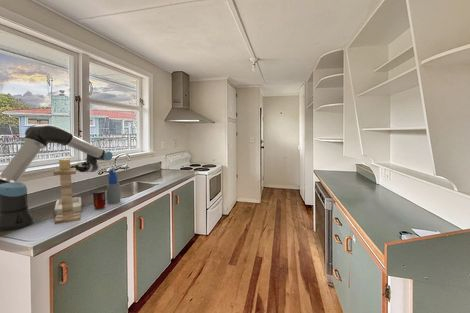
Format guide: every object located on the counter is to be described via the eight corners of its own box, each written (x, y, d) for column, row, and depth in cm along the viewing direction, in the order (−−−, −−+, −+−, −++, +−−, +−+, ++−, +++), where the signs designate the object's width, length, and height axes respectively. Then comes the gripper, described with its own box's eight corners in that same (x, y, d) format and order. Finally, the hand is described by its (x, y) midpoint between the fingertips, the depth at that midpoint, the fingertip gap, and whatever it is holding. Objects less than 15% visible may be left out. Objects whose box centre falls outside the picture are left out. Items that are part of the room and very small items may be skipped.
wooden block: (61, 166, 145) (60, 157, 144) (70, 166, 148) (70, 157, 147) (59, 170, 130) (59, 160, 130) (70, 169, 133) (69, 159, 133)
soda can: (107, 205, 161) (106, 189, 160) (103, 209, 154) (102, 191, 153) (96, 206, 159) (95, 189, 158) (92, 209, 152) (91, 192, 151)
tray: (57, 205, 161) (57, 199, 161) (81, 202, 169) (80, 196, 169) (54, 216, 140) (54, 209, 140) (81, 211, 148) (81, 205, 148)
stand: (56, 217, 138) (53, 169, 136) (80, 213, 145) (77, 167, 142) (54, 224, 127) (51, 172, 124) (80, 220, 134) (77, 170, 131)
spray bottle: (122, 201, 171) (121, 169, 169) (111, 204, 164) (109, 170, 161) (116, 199, 176) (114, 168, 173) (104, 202, 168) (102, 169, 166)
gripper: (102, 168, 175) (88, 168, 154) (68, 175, 171) (49, 176, 150) (100, 158, 175) (86, 157, 154) (66, 166, 172) (46, 165, 151)
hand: (67, 166), depth 152 cm, fingers open, 13 cm apart
